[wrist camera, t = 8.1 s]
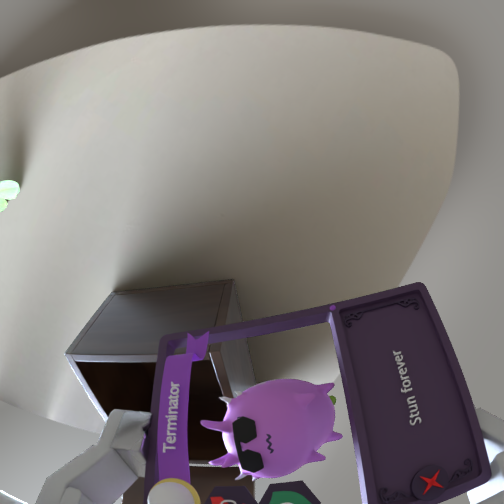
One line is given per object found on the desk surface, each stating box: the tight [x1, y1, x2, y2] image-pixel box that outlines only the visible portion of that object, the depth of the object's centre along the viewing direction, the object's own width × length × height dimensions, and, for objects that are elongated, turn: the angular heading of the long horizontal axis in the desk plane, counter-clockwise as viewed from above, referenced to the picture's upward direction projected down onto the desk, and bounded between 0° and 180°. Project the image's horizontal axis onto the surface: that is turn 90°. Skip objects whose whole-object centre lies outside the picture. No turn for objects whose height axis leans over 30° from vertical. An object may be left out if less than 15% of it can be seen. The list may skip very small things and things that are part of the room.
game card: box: [143, 282, 492, 504], centre depth 9 cm, size 7×5×9 cm
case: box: [65, 279, 256, 464], centre depth 30 cm, size 16×14×11 cm
